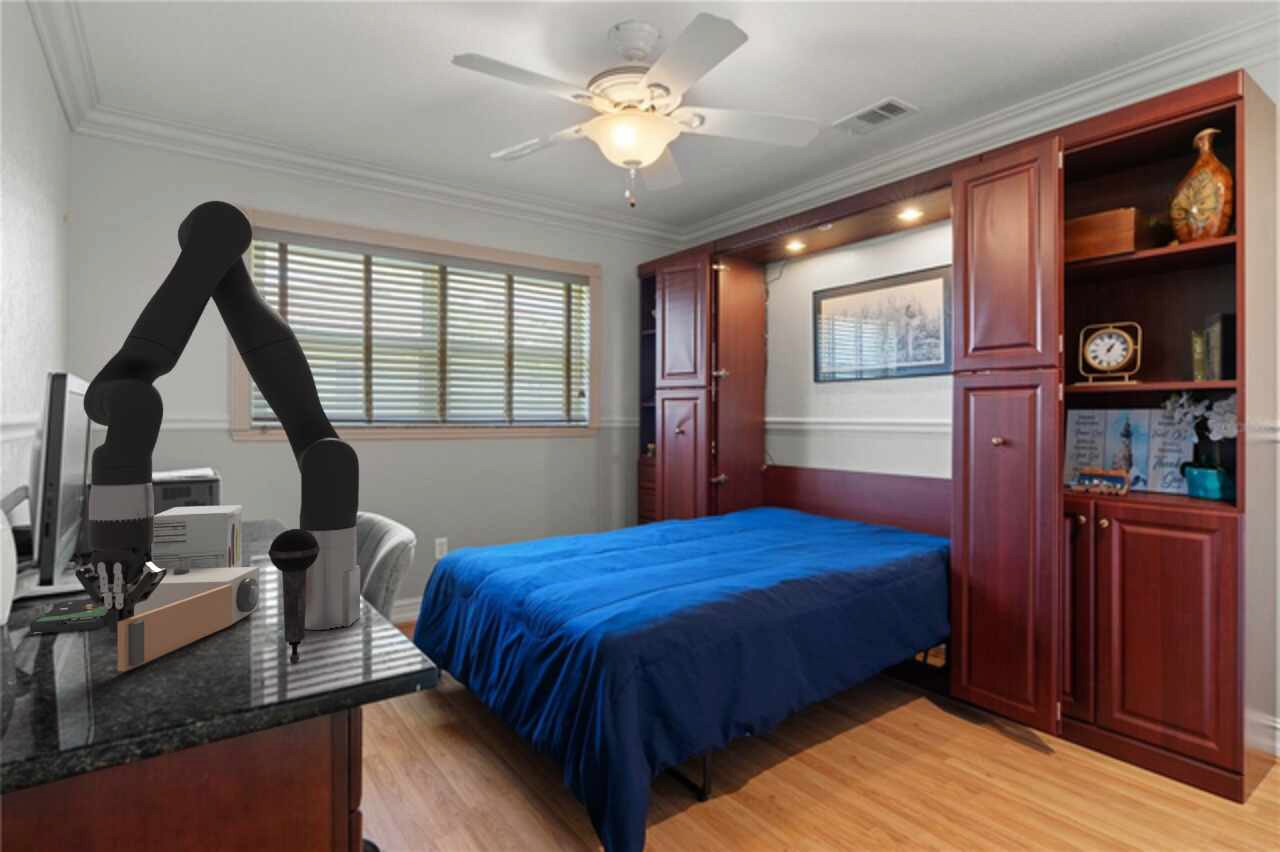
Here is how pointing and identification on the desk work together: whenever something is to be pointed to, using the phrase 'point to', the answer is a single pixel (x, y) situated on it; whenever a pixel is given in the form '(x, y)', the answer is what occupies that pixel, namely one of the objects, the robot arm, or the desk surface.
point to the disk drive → (72, 617)
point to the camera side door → (172, 626)
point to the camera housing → (206, 588)
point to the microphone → (294, 579)
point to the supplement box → (198, 537)
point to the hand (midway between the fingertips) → (120, 632)
